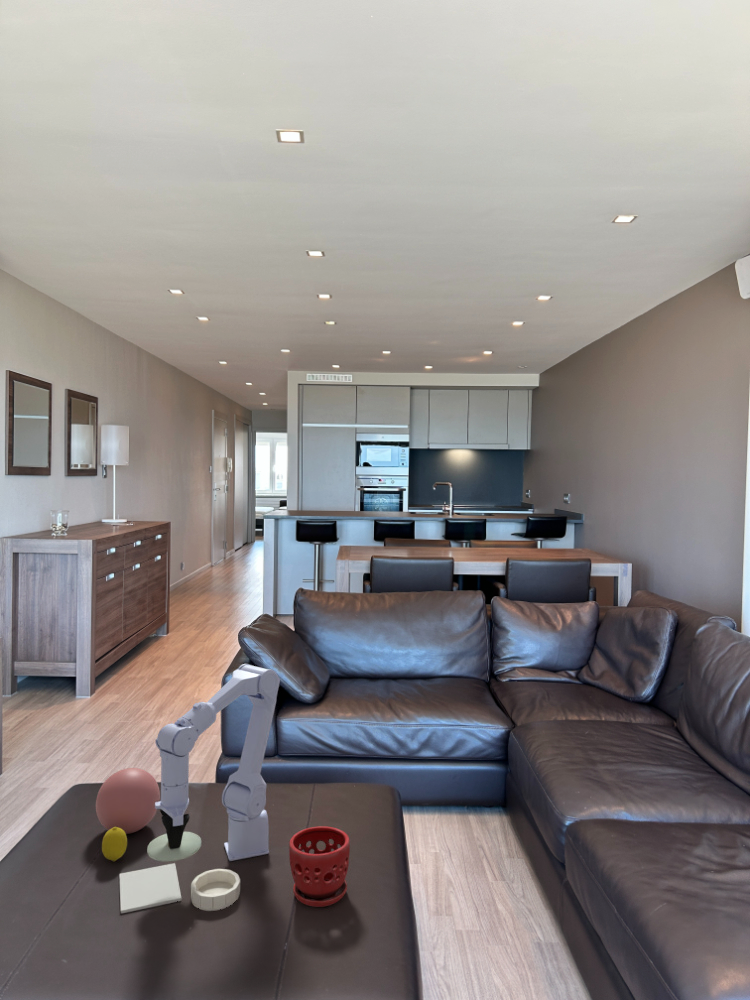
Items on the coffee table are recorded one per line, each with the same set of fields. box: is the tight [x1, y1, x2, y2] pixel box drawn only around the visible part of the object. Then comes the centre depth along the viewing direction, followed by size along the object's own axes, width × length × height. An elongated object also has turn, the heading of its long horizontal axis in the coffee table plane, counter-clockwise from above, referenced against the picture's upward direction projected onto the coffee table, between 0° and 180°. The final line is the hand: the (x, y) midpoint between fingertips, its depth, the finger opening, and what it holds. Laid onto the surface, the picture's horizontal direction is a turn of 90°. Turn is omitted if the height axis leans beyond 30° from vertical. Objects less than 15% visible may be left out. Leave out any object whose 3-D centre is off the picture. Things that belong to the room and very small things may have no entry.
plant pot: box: [288, 825, 351, 908], centre depth 142 cm, size 13×13×12 cm
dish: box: [190, 868, 241, 912], centre depth 141 cm, size 10×10×3 cm
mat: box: [119, 862, 182, 914], centre depth 144 cm, size 12×14×1 cm
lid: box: [146, 831, 202, 862], centre depth 142 cm, size 11×11×3 cm
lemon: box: [101, 827, 128, 862], centre depth 154 cm, size 6×6×8 cm
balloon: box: [95, 767, 161, 835], centre depth 170 cm, size 15×20×15 cm
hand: (173, 843), depth 142 cm, fingers closed on lid, 3 cm apart
